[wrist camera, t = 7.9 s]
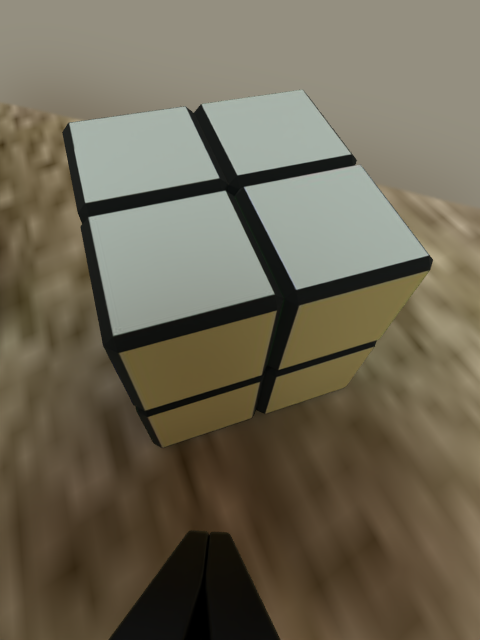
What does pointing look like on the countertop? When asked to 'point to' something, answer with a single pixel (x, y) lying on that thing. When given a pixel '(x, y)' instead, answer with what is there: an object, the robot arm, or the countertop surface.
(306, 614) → the countertop surface
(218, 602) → the robot arm
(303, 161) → the puzzle cube
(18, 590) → the countertop surface
